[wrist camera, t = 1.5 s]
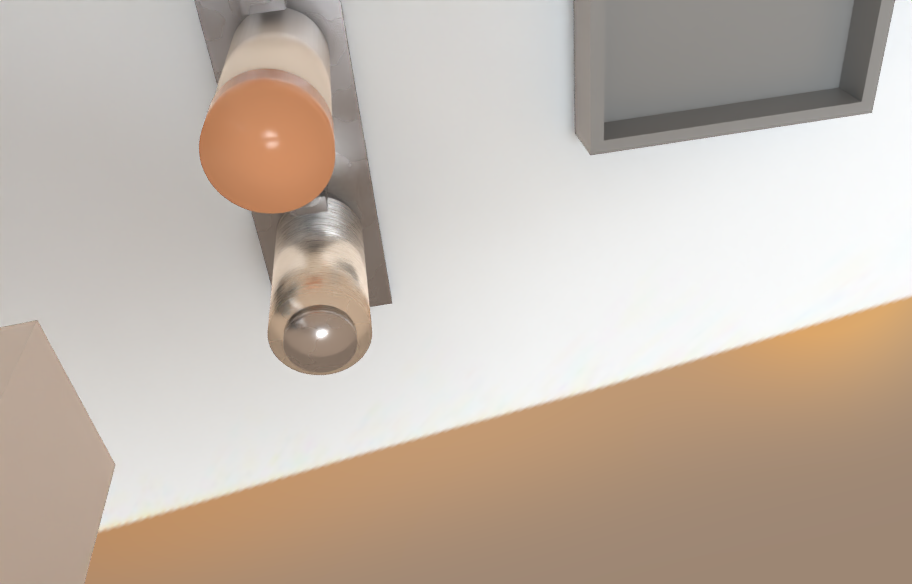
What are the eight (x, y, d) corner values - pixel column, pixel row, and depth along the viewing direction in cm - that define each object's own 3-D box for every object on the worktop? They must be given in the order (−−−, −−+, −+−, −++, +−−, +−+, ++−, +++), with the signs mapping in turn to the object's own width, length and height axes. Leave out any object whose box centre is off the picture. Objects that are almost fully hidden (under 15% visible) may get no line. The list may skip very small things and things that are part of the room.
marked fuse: (242, 111, 34) (218, 222, 26) (217, 12, 32) (182, 100, 23) (338, 97, 34) (345, 203, 26) (320, -2, 32) (321, 80, 24)
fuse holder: (281, 316, 40) (273, 441, 33) (107, -333, 26) (22, -372, 18) (391, 299, 41) (407, 418, 33) (280, -351, 26) (265, -397, 19)
